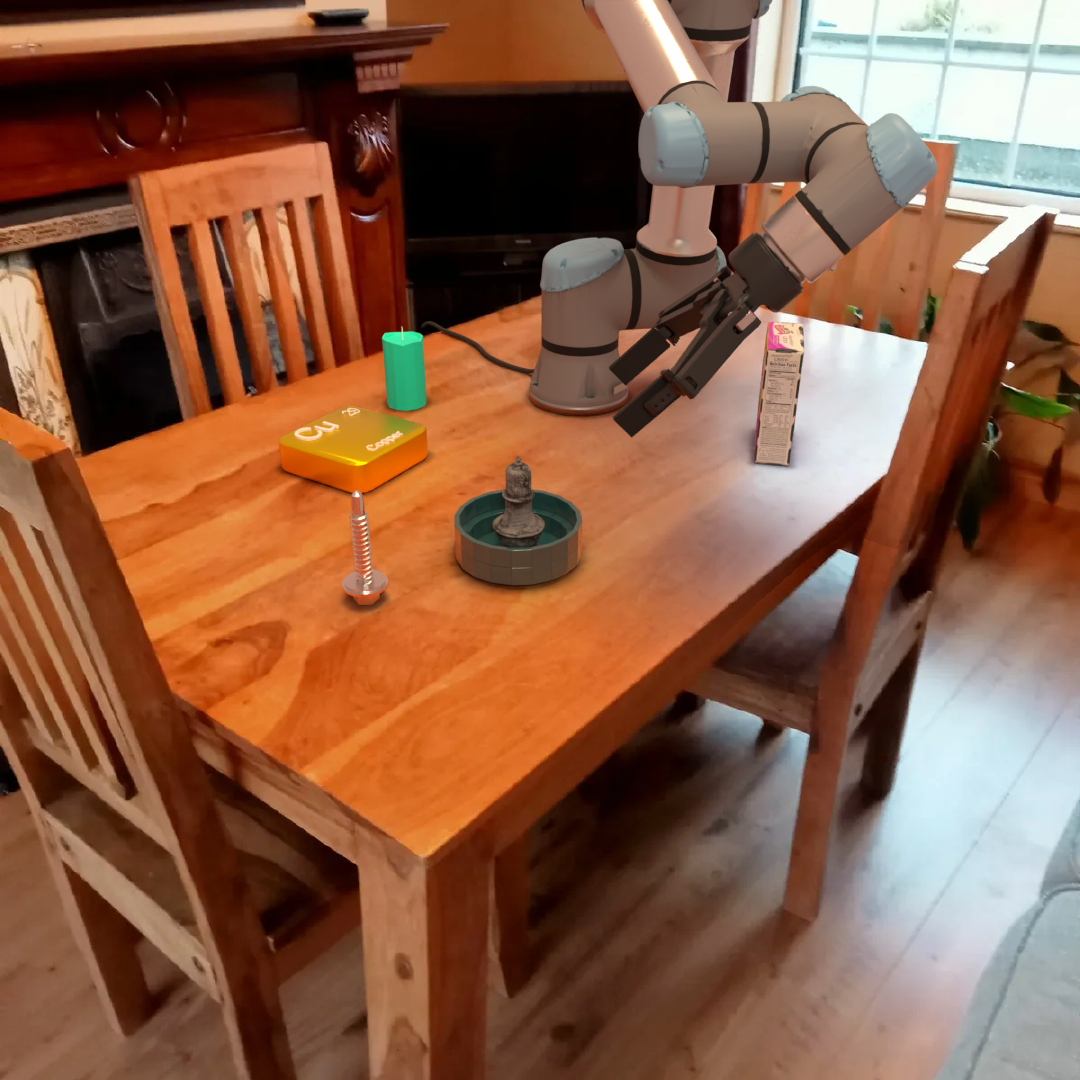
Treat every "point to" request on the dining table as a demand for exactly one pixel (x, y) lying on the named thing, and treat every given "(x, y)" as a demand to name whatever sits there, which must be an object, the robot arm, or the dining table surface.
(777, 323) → the candy bar box
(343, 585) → the screw
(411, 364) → the candle
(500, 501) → the bowl
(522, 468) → the salt shaker
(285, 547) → the dining table surface
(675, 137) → the robot arm
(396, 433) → the element tile
